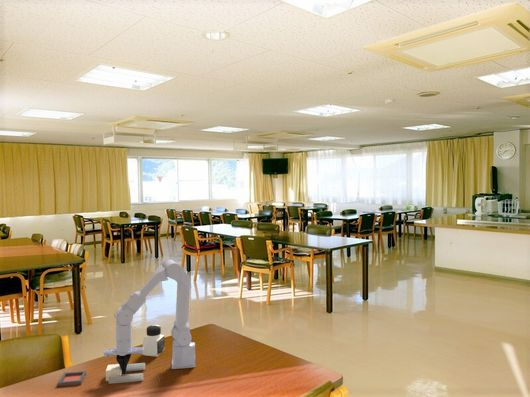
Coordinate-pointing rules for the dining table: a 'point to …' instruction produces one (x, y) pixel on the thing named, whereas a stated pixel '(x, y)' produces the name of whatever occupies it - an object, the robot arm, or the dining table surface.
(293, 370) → the dining table surface
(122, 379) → the channel
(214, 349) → the dining table surface
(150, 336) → the medicine bottle
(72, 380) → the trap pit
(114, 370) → the block
